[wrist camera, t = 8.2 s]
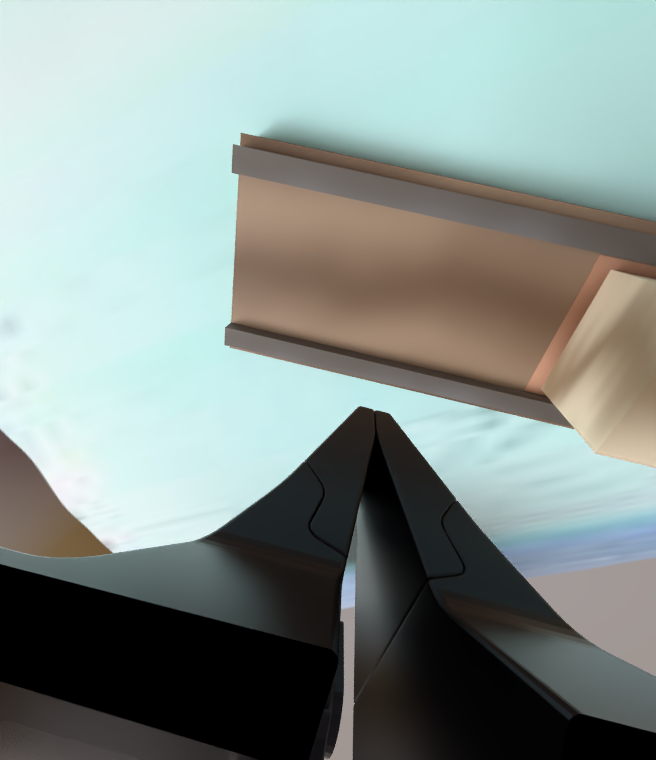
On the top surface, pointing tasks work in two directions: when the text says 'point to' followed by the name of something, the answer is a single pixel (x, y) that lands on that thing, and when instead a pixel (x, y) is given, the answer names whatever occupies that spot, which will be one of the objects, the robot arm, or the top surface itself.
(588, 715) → the robot arm
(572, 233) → the slider track
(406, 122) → the top surface
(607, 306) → the slider block
